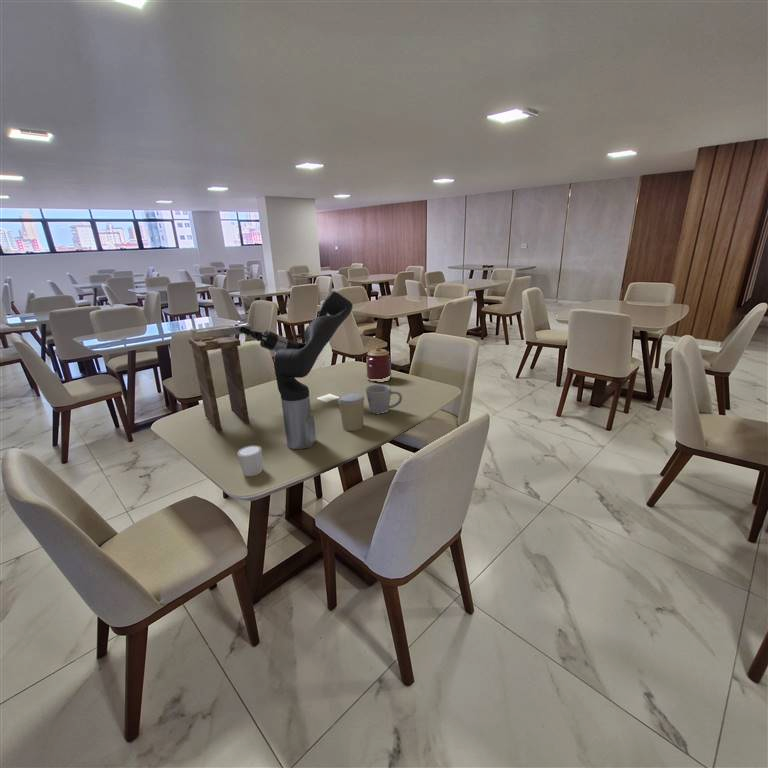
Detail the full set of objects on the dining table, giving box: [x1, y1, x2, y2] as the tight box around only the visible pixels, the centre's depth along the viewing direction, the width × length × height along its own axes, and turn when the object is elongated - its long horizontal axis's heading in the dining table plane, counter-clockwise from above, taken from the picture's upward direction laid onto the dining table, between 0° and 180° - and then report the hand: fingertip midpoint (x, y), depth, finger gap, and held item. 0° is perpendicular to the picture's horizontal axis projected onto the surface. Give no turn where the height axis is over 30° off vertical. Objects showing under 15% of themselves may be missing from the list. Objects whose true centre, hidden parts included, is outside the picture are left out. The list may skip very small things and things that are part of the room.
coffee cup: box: [337, 392, 365, 432], centre depth 140 cm, size 9×9×12 cm
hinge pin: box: [190, 324, 253, 340], centre depth 149 cm, size 22×4×4 cm, turn 126°
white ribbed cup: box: [237, 445, 263, 477], centre depth 113 cm, size 7×7×7 cm
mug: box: [365, 383, 403, 414], centre depth 154 cm, size 10×15×10 cm
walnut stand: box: [188, 335, 250, 432], centre depth 148 cm, size 14×20×34 cm
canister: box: [365, 346, 392, 379], centre depth 196 cm, size 13×13×18 cm
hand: (237, 327), depth 152 cm, fingers open, 7 cm apart
